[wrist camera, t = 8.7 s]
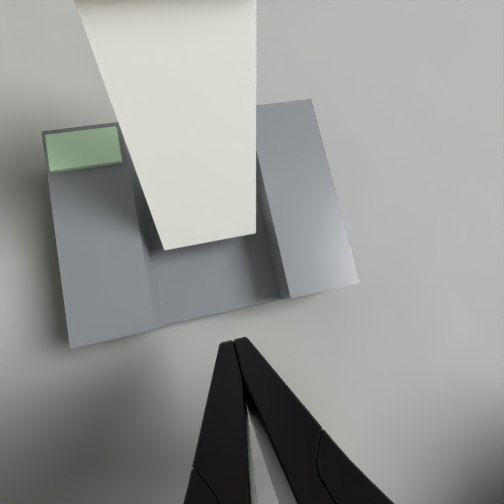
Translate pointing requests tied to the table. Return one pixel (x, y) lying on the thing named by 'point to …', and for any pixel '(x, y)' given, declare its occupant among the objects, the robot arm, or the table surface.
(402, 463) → the table surface
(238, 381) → the robot arm
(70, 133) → the switch housing
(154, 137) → the switch lever
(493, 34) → the table surface
